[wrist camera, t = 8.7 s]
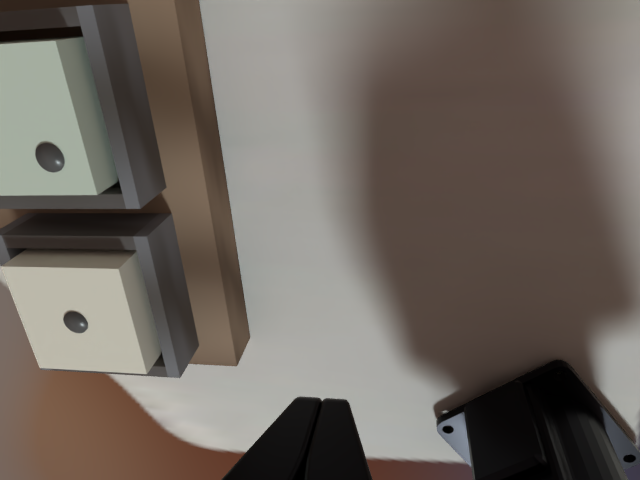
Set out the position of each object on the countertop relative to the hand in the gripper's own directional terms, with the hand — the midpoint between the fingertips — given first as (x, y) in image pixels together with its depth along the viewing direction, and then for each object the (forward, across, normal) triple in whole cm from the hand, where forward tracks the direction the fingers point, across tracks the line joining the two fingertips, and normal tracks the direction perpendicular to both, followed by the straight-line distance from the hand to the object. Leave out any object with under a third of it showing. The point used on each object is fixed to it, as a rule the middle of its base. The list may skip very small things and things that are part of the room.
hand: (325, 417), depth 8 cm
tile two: (+9, +10, -3) cm, 14 cm away
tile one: (+9, +10, +4) cm, 14 cm away
